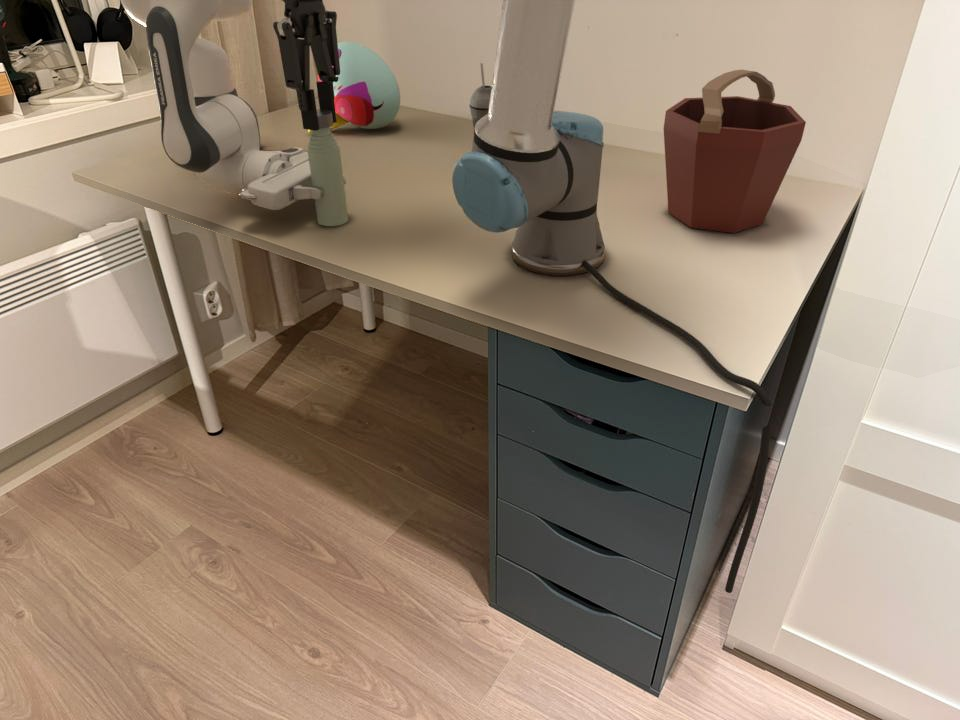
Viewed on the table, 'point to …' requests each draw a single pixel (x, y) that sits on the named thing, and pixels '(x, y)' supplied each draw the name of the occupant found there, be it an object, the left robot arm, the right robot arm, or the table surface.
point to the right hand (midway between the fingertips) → (320, 125)
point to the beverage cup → (480, 101)
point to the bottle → (327, 177)
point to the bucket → (728, 154)
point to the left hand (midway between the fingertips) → (332, 187)
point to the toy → (364, 89)
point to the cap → (324, 118)
